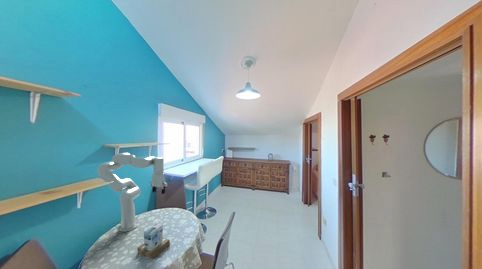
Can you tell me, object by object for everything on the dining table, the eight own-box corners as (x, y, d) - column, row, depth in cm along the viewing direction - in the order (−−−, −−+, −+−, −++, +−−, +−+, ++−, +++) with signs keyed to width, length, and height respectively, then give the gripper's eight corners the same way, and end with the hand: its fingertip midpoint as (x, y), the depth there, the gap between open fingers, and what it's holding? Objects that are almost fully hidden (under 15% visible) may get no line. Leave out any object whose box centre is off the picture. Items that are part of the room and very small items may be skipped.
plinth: (137, 253, 113) (137, 247, 113) (154, 240, 126) (154, 235, 126) (153, 259, 108) (153, 252, 108) (169, 245, 121) (169, 239, 121)
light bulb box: (152, 249, 111) (151, 233, 111) (143, 247, 113) (143, 231, 112) (163, 238, 122) (163, 224, 121) (155, 237, 123) (155, 223, 123)
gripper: (146, 172, 139) (147, 192, 139) (163, 174, 133) (163, 195, 134) (154, 170, 146) (154, 189, 146) (170, 172, 140) (170, 192, 141)
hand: (158, 192), depth 140 cm, fingers open, 9 cm apart
